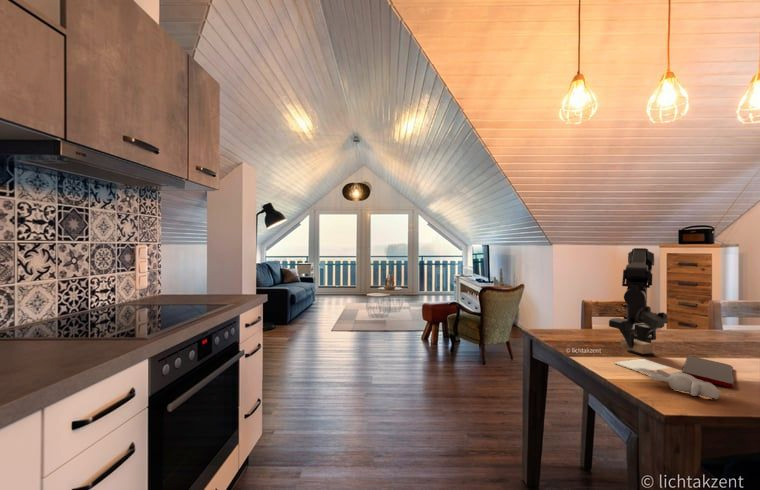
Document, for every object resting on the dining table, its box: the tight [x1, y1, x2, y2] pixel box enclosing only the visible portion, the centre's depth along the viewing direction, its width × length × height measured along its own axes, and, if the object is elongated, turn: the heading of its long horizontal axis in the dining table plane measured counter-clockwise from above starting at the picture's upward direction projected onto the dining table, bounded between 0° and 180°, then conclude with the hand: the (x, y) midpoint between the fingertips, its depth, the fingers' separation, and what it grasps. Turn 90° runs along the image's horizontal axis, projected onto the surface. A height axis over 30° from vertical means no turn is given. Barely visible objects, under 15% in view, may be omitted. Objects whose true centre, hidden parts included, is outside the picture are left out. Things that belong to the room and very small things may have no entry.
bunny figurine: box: [649, 370, 722, 400], centre depth 105 cm, size 10×5×15 cm
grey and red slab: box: [681, 355, 735, 388], centre depth 120 cm, size 12×2×25 cm
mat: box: [613, 358, 683, 377], centre depth 123 cm, size 17×14×1 cm
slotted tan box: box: [620, 337, 654, 354], centre depth 125 cm, size 8×4×3 cm, turn 16°
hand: (636, 347), depth 125 cm, fingers closed on slotted tan box, 4 cm apart
